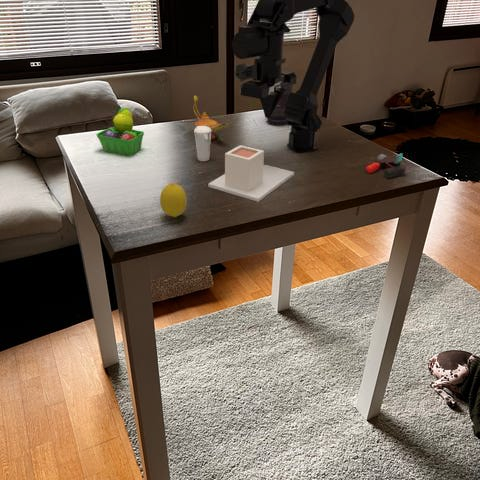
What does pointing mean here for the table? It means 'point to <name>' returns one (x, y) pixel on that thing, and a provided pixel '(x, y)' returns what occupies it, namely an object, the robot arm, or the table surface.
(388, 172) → the toy gun
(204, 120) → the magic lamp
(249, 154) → the salmon pink square block
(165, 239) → the table surface
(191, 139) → the table surface
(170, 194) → the lemon
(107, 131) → the fruit basket
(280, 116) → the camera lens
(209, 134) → the takeaway coffee cup
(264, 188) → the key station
